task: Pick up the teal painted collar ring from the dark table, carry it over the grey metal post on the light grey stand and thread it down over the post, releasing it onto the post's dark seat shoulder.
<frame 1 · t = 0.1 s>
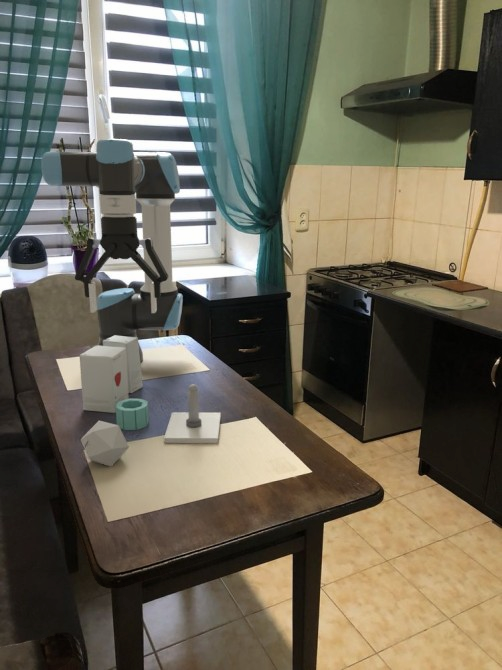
hand: (124, 311, 122), 28 cm above the table, fingers open, 13 cm apart
skincare box: (124, 389, 152), on the table
supplement box: (106, 406, 141), on the table
die: (106, 461, 113), on the table
post stand: (193, 429, 128), on the table
teal ring: (132, 423, 130), on the table
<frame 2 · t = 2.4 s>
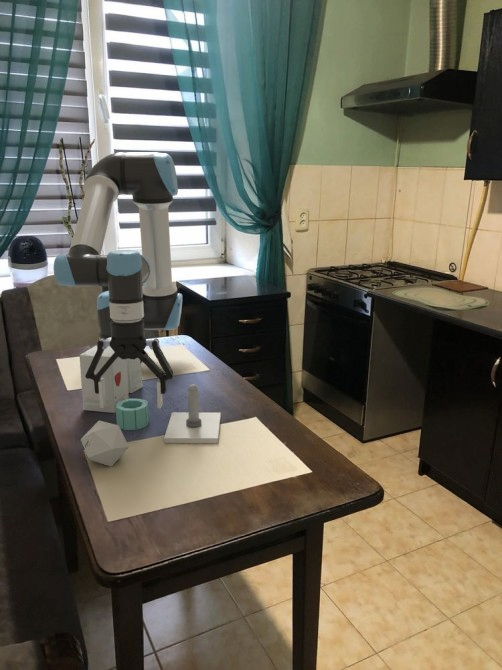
hand: (131, 406, 129), 5 cm above the table, fingers open, 13 cm apart
nothing on the table moved.
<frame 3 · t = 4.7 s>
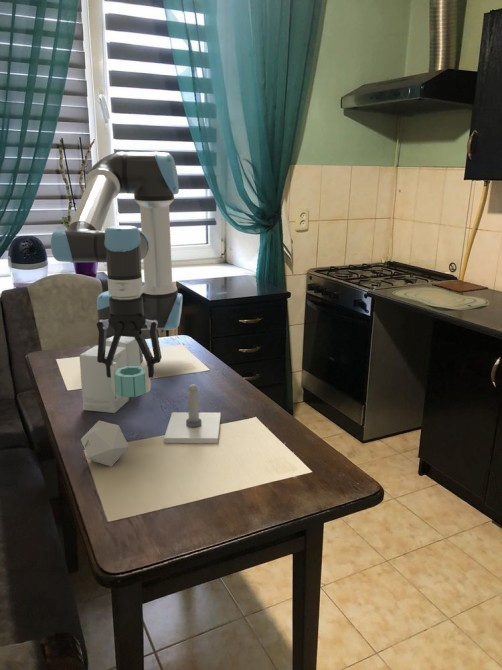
hand: (131, 389, 129), 9 cm above the table, fingers closed on teal ring, 7 cm apart
teal ring: (131, 390, 129), point 8 cm above the table, touching gripper
everything else where it was.
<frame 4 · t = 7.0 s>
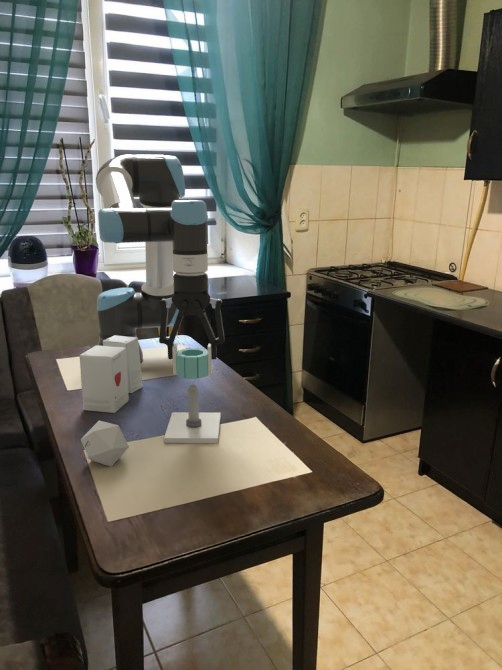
hand: (192, 372, 124), 14 cm above the table, fingers closed on teal ring, 7 cm apart
teal ring: (192, 373, 124), point 14 cm above the table, touching gripper
everything else where it was.
when the fingers open (4 cm above the table, at t = 9.7 s): teal ring drops 2 cm, resting on post stand.
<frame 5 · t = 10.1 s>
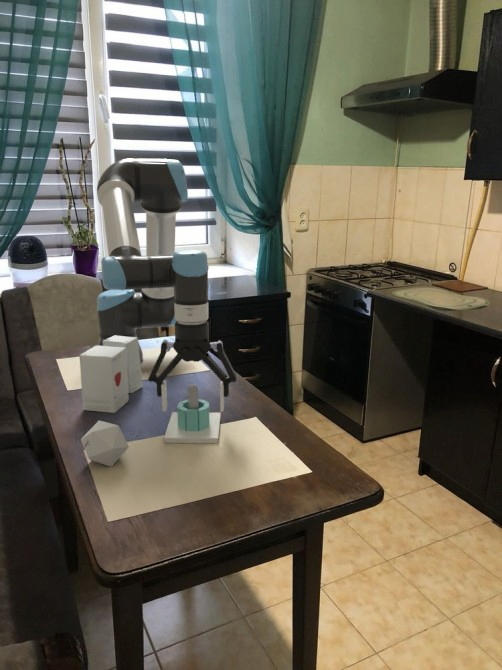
hand: (193, 409, 126), 5 cm above the table, fingers open, 13 cm apart
teal ring: (193, 424, 127), point 1 cm above the table, touching post stand
everything else where it was.
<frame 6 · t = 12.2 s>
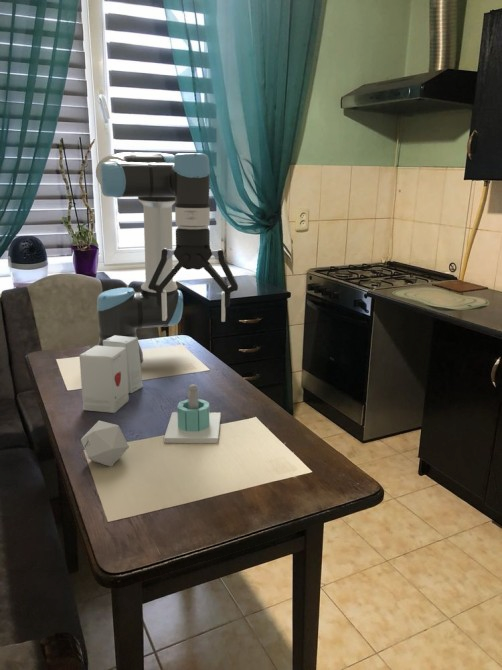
hand: (194, 319, 125), 25 cm above the table, fingers open, 13 cm apart
nothing on the table moved.
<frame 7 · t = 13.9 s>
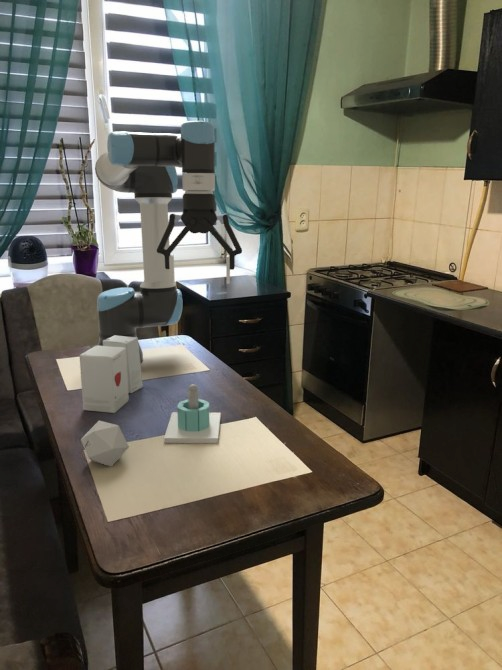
hand: (200, 282, 131), 33 cm above the table, fingers open, 13 cm apart
nothing on the table moved.
at the end: teal ring 0.0 cm from the post stand (horizontally); teal ring 0.0 cm off-centre on the post stand, point 1.2 cm above the post stand's base; the gripper is holding nothing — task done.
